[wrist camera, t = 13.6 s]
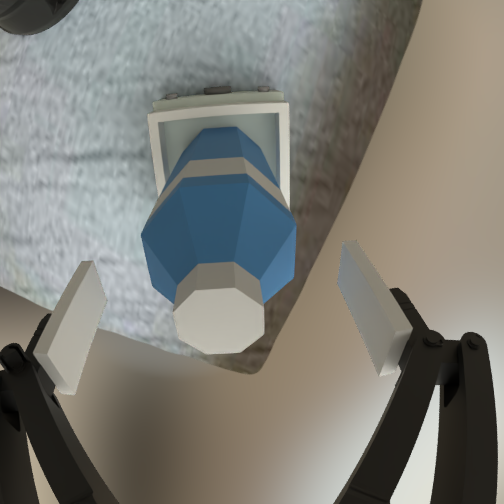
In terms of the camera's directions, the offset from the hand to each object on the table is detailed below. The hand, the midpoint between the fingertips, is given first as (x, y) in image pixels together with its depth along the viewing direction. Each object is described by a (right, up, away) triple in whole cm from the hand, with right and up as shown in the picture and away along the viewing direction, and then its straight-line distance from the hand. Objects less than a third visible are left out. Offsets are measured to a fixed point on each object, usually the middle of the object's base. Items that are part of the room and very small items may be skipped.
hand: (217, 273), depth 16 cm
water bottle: (-2, +11, +19) cm, 22 cm away
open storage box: (-2, +13, +23) cm, 27 cm away
